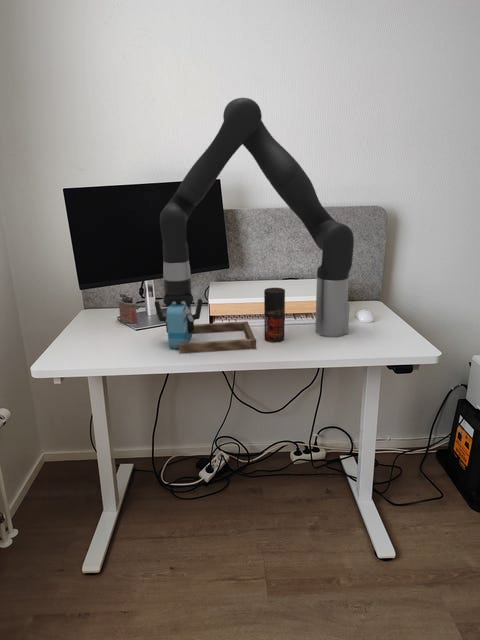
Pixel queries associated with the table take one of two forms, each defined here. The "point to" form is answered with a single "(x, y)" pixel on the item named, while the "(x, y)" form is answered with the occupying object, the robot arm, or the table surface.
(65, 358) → the table surface
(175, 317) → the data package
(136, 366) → the table surface
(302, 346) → the table surface
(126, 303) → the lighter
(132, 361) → the table surface
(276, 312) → the deodorant
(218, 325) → the walnut u-shaped frame
